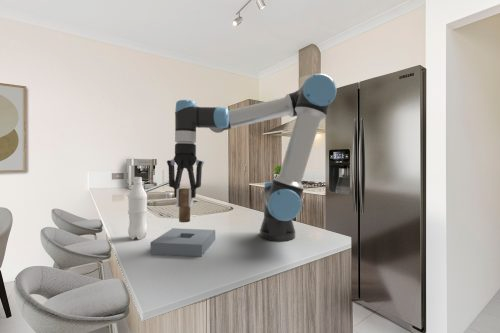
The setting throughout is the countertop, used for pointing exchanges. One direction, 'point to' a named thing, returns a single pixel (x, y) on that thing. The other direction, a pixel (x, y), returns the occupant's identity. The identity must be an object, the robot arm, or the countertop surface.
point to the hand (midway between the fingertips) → (184, 206)
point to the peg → (184, 205)
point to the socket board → (183, 242)
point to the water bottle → (137, 210)
